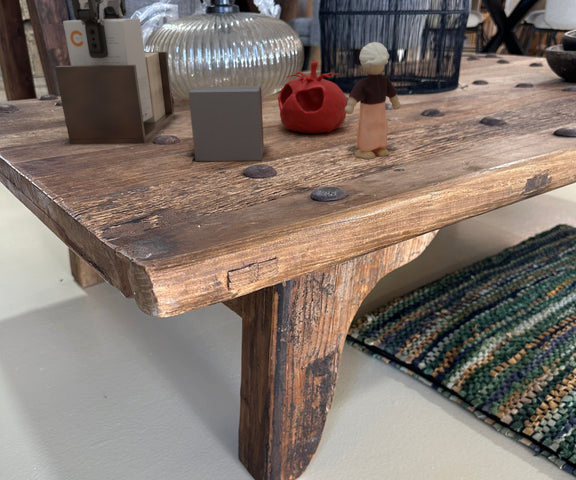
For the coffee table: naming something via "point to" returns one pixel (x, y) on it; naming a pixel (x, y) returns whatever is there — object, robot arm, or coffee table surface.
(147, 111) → the small box
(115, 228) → the coffee table surface
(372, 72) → the grandmother figurine
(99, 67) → the book rack
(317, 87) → the hollow red tomato
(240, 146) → the matte grey upright block
